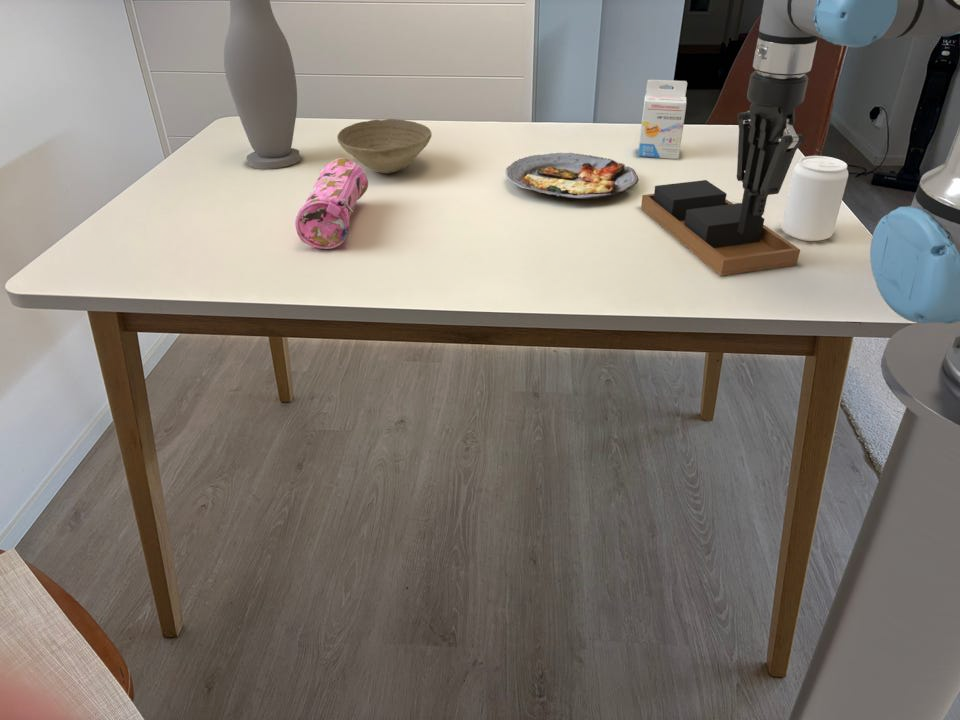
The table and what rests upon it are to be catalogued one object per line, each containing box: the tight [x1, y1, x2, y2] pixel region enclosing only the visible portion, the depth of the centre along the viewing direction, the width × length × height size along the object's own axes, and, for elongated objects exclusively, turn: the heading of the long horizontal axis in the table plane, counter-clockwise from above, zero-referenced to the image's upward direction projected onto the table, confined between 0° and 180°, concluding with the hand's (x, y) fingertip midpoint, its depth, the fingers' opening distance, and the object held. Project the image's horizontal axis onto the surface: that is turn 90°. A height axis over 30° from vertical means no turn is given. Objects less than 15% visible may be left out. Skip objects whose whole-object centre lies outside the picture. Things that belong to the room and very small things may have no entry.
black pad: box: [684, 202, 765, 248], centre depth 122 cm, size 7×10×4 cm
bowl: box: [336, 118, 432, 174], centre depth 151 cm, size 18×18×8 cm
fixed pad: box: [653, 179, 727, 221], centre depth 131 cm, size 7×10×4 cm
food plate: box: [505, 152, 639, 200], centre depth 145 cm, size 25×23×4 cm
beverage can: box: [780, 155, 849, 242], centre depth 122 cm, size 8×8×12 cm
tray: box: [640, 193, 801, 277], centre depth 125 cm, size 28×13×3 cm, turn 15°
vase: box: [223, 0, 301, 170], centre depth 150 cm, size 13×13×35 cm
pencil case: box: [294, 157, 369, 250], centre depth 128 cm, size 21×9×9 cm, turn 179°
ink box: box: [638, 79, 688, 160], centre depth 156 cm, size 8×5×15 cm, turn 78°
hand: (747, 231), depth 116 cm, fingers closed
